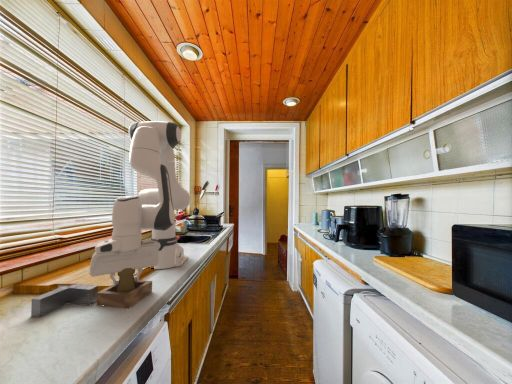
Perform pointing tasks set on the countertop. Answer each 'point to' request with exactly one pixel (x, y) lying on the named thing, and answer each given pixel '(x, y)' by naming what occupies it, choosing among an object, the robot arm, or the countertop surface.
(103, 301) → the sleeve
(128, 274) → the cork
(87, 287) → the v block
